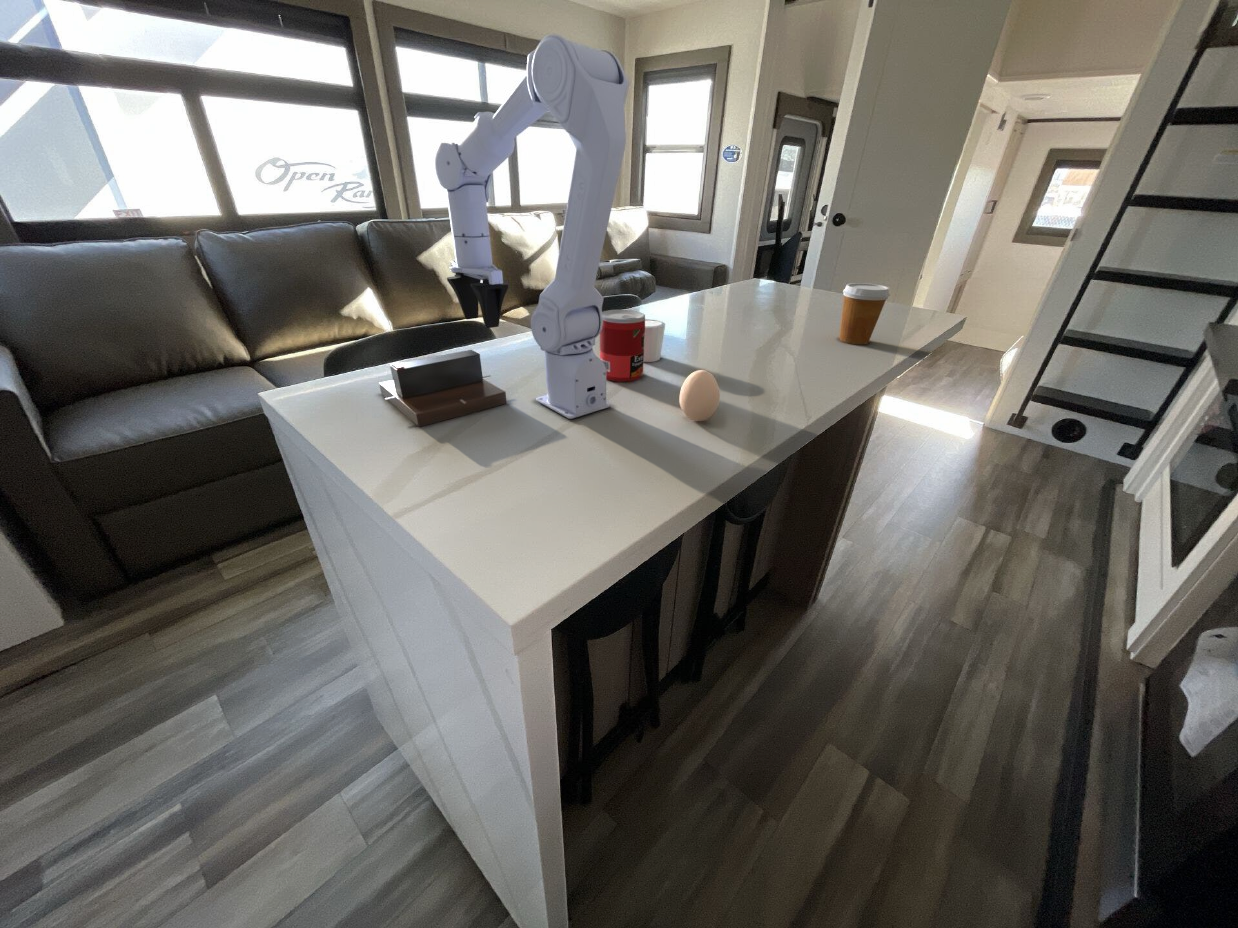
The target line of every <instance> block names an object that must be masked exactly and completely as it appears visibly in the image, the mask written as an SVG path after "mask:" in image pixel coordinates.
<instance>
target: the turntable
mask: <svg viewBox="0 0 1238 928" xmlns="http://www.w3.org/2000/svg"><path fill="white" fill-rule="evenodd" d="M482 376H483V381H480V382H475V383H471V384H467V385H462V386H458V387H454V388H449V389H445V390H441V391H436V392H432V393H428V394H423V395H419V396H414V397H410V398H406V399H402V398H401V397H400V396H399V395H397V394H396V391H395V386H394V382H393V379H391V380H387V381H382V382H378V385H379V390H380V393H381V395H382V396H383V397H384V400H385V401H388V402H390V403H391V404H392V405H393V406H394V407H395V408H396V409H397V410H399V411H400V412H401V413H402V414H403V415H404V416H405V417H406V418H408V419H409V420H410V421H411V422H412V423H413V424H415V425H416V426H417V427H418V428H420V427H424V426H428V425H431V424H436V423H439V422H444V421H448V420H450V419H454V418H458V417H462V416H466V415H469V414H472V413H477V412H480V411H485V410H488V409H492V408H497V407H500V406H503V405H507V404H508V403H507V393H506V390H503V389H501V388H500V387H499V386H497V385H494V384H493V383H491V382H490V381H488V380H486V379H485V378H490V377H492V375H491V374H488V375H482Z"/></svg>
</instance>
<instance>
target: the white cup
mask: <svg viewBox="0 0 1238 928" xmlns="http://www.w3.org/2000/svg"><path fill="white" fill-rule="evenodd" d="M665 327H666V323H665V322H663V321H662V320H657V319H647V318H645V339H644V361H643V363H653V362H658V361H659V360H660V359H661V355H662V349H663V342H664V336H665V330H666V329H665Z"/></svg>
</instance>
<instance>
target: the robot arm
mask: <svg viewBox="0 0 1238 928" xmlns="http://www.w3.org/2000/svg"><path fill="white" fill-rule="evenodd" d="M526 63H527V64H526V72H525V73H524V74H523V76H521V79H520V80H519V81H518V83H517V84H516V85H515V87H514V88H513V89H512V90H511V92H510V93H509V95H508V96H507V97H506V99H504V101H503V102H502V104H501V105H500V106H499V108H498V109H497V110H496V112H495V113H494V112H492V111H478V112H477V113H476V114H475V116H474V117H473V118H474V121H473V122H472V123H471V124H470V125H469V127H468V128H467V129H465V131H464V132H463V133H461V134H460V135H459V136H458V139H457V140H456V141H455V142H451V143H448V142H440V143H439V144H438V147H437V148H436V150H435V152H434V157H433V167H434V172H435V176H436V178H437V181H438V183H439V184H440V185H441V187H442V188H443V189H445V192H446V199H447V206H448V207H447V208H448V214H449V221H450V228H451V235H452V242H453V250H454V259H455V260H450V266H449V271H450V272H451V273H452V274H454V275H453V276H447V277H446V280H447V282H448V284H449V285H450V286H451V288H452V290H453V292H454V294H455V296H456V297H457V300H458V303H459V305H460V308H461V311H462V314H463V316H464V318H465V320H472V319H473V320H474V319H478V318H479V307H480V311H481V316H482V321H483V324H484V326H485V328H486V329H493V328H498V327H499V326H500V321H501V314H502V306H503V302H504V299H505V297H506V293H507V292H508V290H509V283H508V282H504V277H503V270H502V269H499V268H497V266H495V264H493V254H492V244H491V236H490V235H491V234H490V226H489V215H488V207H487V203H489V199H490V193H489V192H490V191H489V189H490V185H491V182H492V178H493V177H492V176H493V172H494V171H495V170H496V169H497V168H498V167H500V166H501V165H502V164H503V163H504V162H505V161H506V160H507V159H508V158H509V157H511V155H512V154H513V153H514V151H515V144H516V143H515V142H516V141H515V138H517V137H519V135H521V134H522V133H523V132H524V131H526V130H527V129H528V128H529V127H531V126H532V125H533V124H534V123H535V122H537V121H538V120H539V119H541V117H543V116H544V115H545V114H547V113H548V112H549V113H550V114H551V116H552V117H553V118H554V119H555V120H556V121H557V122H558V123H559V125H560V126H561V127H562V128H563V129H564V131H565V132H566V133H568V135H569V137H570V139H571V141H572V143H573V145H574V147H575V156H574V162H573V167H572V168H573V169H572V174H571V180H570V186H569V191H568V199H567V203H566V209H565V215H564V222H563V227H562V234H561V240H560V245H559V251H558V257H557V261H556V262H557V263H556V268H555V274H554V279H552V281H551V282H550V283H549V284H548V285H547V286H546V287H545V288H544V289H543V291H542V292H540V294H539V298H538V304H537V306H536V308H535V309H534V310H533V312H532V314H531V317H530V330H531V333H532V337H533V339H534V341H535V342H536V344H537V345H538V346H539V348H540V351H542V352H544V365H545V367H544V368H545V385H546V394H544V395H541V396H537V397H536V399H535V400H536V401H537V402H538V403H540V404H542V405H543V406H545V407H547V408H548V409H551V410H552V411H554V412H555V413H558V414H559V415H561V416H563V417H565V418H567V419H569V420H572V419H576V418H579V417H582V416H585V415H588V414H591V413H594V412H597V411H601V410H604V409H607V408H610V407H611V406H612V405H611V402H608V401H607V379H606V367H605V365H604V363H603V362H602V360H600V357H598V356H597V355H596V354H595V352H594V349H593V347H594V346H595V345H596V338H598V336H600V332H601V330H602V326H603V318H602V312H603V303H604V297H603V295H602V294H601V293H600V292H599V291H598V289H597V288H596V287H595V284H596V280H597V275H598V270H599V266H600V261H601V258H602V253H603V248H604V244H605V240H606V236H607V230H608V226H609V222H610V217H611V212H612V208H613V205H614V200H615V196H616V195H615V194H616V190H617V185H618V181H619V176H620V172H621V168H622V163H623V158H624V154H625V150H626V143H627V133H626V116H625V106H626V102H627V98H628V92H629V88H630V81H629V79H628V77H627V75H626V73H625V70H624V68H623V66H622V64H621V62H620V60H619V58H618V57H617V55H615V54H614V53H613V52H611V51H609V50H603V49H599V48H596V47H591V46H588V45H585V44H582V43H579V42H576V41H573V40H569V39H567V38H565V37H564V36H562V35H559V34H556V33H552V34H548V35H545V36H544V37H543V38H542V39H541V40H540V42H539V43H538V44H537V46H536V48H535V49H534V50H532V51H530V53H529V54H528V55H527V61H526Z"/></svg>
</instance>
